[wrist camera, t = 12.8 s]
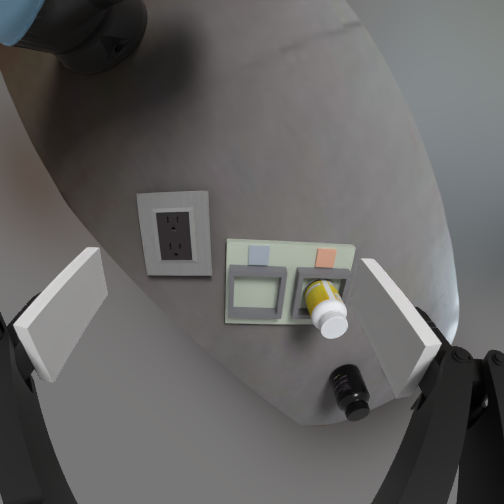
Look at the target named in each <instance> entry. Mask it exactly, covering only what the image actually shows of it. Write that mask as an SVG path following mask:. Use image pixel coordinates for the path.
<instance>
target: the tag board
mask: <svg viewBox="0 0 504 504" xmlns="http://www.w3.org/2000/svg"><path fill="white" fill-rule="evenodd" d="M355 249H356V248H355V246H354V245H348V244H330V243H310V242H290V241H269V240H247V239H227V261H226V310H225V323H243V324H313V322H312V320H311V317H310V314H309V311H308V308H307V305H306V302H305V299H304V289H305V287H306V285H307V284H308V283H309V282H310V281H312V280H314V279H316V278H326V279H329V280H331V281H332V282H333V284H334V285H335V287H336V289H337V291H338V293H339V295H340V297H341V299H342V301H343V303H344V305H345V302H346V298H347V294H348V290H349V286H350V282H351V278H352V273H351V272H350V271H351V267H352V262H353V258H354V253H355Z"/></svg>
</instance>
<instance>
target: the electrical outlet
mask: <svg viewBox="0 0 504 504" xmlns="http://www.w3.org/2000/svg"><path fill="white" fill-rule="evenodd" d="M136 196H137V205H138V214H139V222H140V230H141V237H142V244H143V251H144V257H145V263H146V269H147V275H174V276H212V275H213V273H212V257H211V239H210V218H209V193H208V191H180V192H158V193H141V194H136Z"/></svg>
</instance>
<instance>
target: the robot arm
mask: <svg viewBox="0 0 504 504" xmlns="http://www.w3.org/2000/svg"><path fill="white" fill-rule="evenodd" d="M146 24H147V10H146V7H145V4H144V3H143V1H142V0H0V43H3V44H4V45H6V46H15V47H21V48H27V49H32V50H37V51H42V52H47V53H51V54H54V55H55V56H56V57H57V58H58V60H59V61H60V62H61V64H62V65H63V66H64V67H66V68H67V69H69V70H71V71H74V72H77V73H82V74H96V73H100V72H103V71H106V70H108V69H110V68H112V67H114V66H115V65H117V64H118V63H120V62H121V61H122V60H124V59H125V58H126V57H127V56H128V55H129V54H130V53H131V52H132V51H133V50H134V48H135V47H136V46H137V44H138V43H139V41H140V39H141V38H142V36H143V33H144V31H145V28H146ZM107 295H108V292H107V287H106V282H105V277H104V271H103V266H102V260H101V254H100V248H97V247H87V248H86V249H85V250H84V251H82V252H81V253H80V254H79V255H78V256H77V257H76V258H75V259H74V260H73V261H72V262H71V263H70V264H69V265H68V266H67V267H66V268H65V269H64V270H63V271H62V272H61V273H60V274H59V275H58V276H57V277H56V278H55V279H54V280H53V281H52V282H51V283H50V284H49V285H48V286H47V287H46V288H45V290H44V291H43V292H40V293H39V294H37V295H36V296H34V297H33V298H32V299H31V300H30V301H29V302H28V303H27V305H25V306H24V307H23V309H22V311H20V312H19V313H18V314H17V315H16V316H15V318H14V319H13V320H12V321H11V322H10V323H9V325H8V326H6V324H5V322H4V320H3V317H2V315H1V312H0V494H1V497H2V500H3V504H77V502H76V500H75V498H74V496H73V494H72V492H71V490H70V488H69V486H68V483H67V481H66V479H65V476H64V474H63V472H62V469H61V467H60V465H59V462H58V460H57V457H56V455H55V452H54V449H53V446H52V444H51V441H50V438H49V435H48V432H47V428H46V425H45V422H44V419H43V415H42V412H41V408H40V404H39V400H38V396H37V392H36V388H35V384H34V380H33V378H32V376H31V373H32V371H33V370H34V369H35V371H36V373H37V374H38V376H39V378H40V379H42V380H45V381H48V382H51V383H54V382H55V380H56V379H57V377H58V375H59V373H60V371H61V370H62V368H63V366H64V364H65V362H66V361H67V359H68V357H69V355H70V354H71V352H72V350H73V349H74V347H75V345H76V343H77V342H78V340H79V339H80V337H81V335H82V334H83V332H84V330H85V329H86V327H87V326H88V324H89V322H90V321H91V319H92V318H93V316H94V314H95V313H96V311H97V310H98V308H99V307H100V305H101V304H102V302H103V301H104V299H105V298H106V296H107ZM350 306H351V308H352V310H353V312H354V314H355V316H356V318H357V319H358V321H359V323H360V325H361V327H362V329H363V331H364V333H365V335H366V337H367V339H368V341H369V343H370V345H371V347H372V349H373V351H374V353H375V355H376V357H377V359H378V361H379V363H380V365H381V367H382V369H383V371H384V373H385V375H386V377H387V379H388V382H389V384H390V386H391V388H392V390H393V392H394V394H395V397H396V398H402V397H407V396H411V395H412V394H413V393H414V391H415V390H416V388H417V387H418V385H419V387H420V389H421V391H422V392H421V394H420V396H419V397H418V399H417V400H416V401H415V403H414V404H413V406H412V407H411V410H413V409H414V407H415V409H414V412H413V414H412V417H411V420H410V423H409V425H408V428H407V430H406V433H405V436H404V438H403V440H402V443H401V445H400V448H399V450H398V452H397V454H396V457H395V459H394V461H393V463H392V465H391V467H390V469H389V471H388V473H387V475H386V477H385V479H384V482H383V483H382V485H381V487H380V489H379V491H378V493H377V494H376V496H375V498H374V500H373V502H372V503H371V504H447V501H448V498H449V495H450V492H451V489H452V486H453V482H454V479H455V476H456V472H457V468H458V465H459V479H458V493H457V503H456V504H504V354H503V353H501V352H500V351H497V350H490V351H488V353H487V354H486V356H485V358H484V359H473V357H472V356H471V354H470V353H469V352H468V351H467V350H465V349H463V348H461V347H457V346H453V347H452V346H451V345H450V344H449V342H448V341H447V340H446V338H445V337H444V336H443V334H442V333H441V332H440V330H439V329H438V328H436V325H435V324H434V323H433V322H432V320H431V319H430V318H429V316H428V315H427V314H426V313H425V312H424V311H422V310H421V309H420V308H418V307H414V306H413V305H412V304H411V303H410V301H409V300H408V299H407V298H406V296H405V295H404V294H403V293H402V291H401V290H400V289H399V288H398V287H397V285H396V284H395V283H394V282H393V281H392V279H391V278H390V277H389V276H388V275H387V273H386V272H385V271H384V270H383V269H382V268H381V266H380V265H379V264H378V263H377V262H376V261H375V260H374V259H362V258H361V260H360V264H359V269H358V273H357V277H356V281H355V285H354V289H353V293H352V296H351V300H350ZM487 399H488V405H487V407H486V405H485V401H486V400H487Z"/></svg>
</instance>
